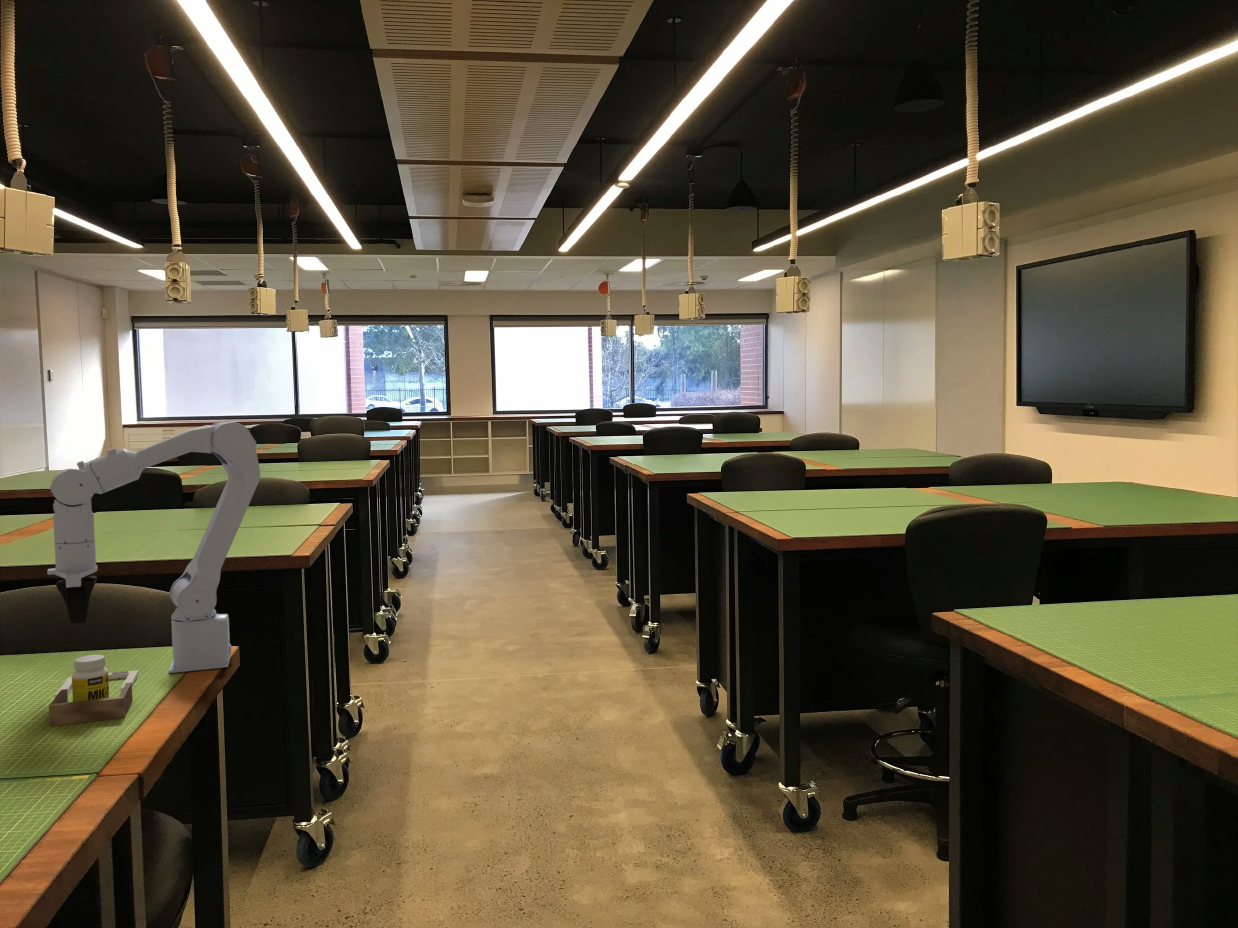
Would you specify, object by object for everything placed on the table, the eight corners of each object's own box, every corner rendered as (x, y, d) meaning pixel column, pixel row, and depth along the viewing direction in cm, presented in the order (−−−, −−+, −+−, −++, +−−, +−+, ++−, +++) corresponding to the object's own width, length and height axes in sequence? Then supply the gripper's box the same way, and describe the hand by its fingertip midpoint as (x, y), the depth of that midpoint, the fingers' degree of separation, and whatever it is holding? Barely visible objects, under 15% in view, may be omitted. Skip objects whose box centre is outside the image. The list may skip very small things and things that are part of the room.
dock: (138, 674, 154) (138, 669, 153) (129, 691, 144) (129, 686, 144) (68, 681, 150) (68, 676, 150) (55, 699, 141) (55, 694, 141)
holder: (132, 700, 140) (131, 682, 140) (124, 717, 133) (123, 697, 133) (62, 708, 137) (61, 689, 137) (49, 726, 130) (48, 705, 129)
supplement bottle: (89, 719, 132) (87, 663, 132) (65, 715, 134) (63, 660, 133) (117, 708, 137) (114, 655, 136) (93, 705, 138) (91, 652, 138)
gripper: (50, 537, 152) (54, 615, 153) (41, 549, 139) (46, 635, 140) (98, 533, 155) (102, 610, 156) (93, 546, 142) (97, 629, 143)
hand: (78, 622), depth 148 cm, fingers closed
